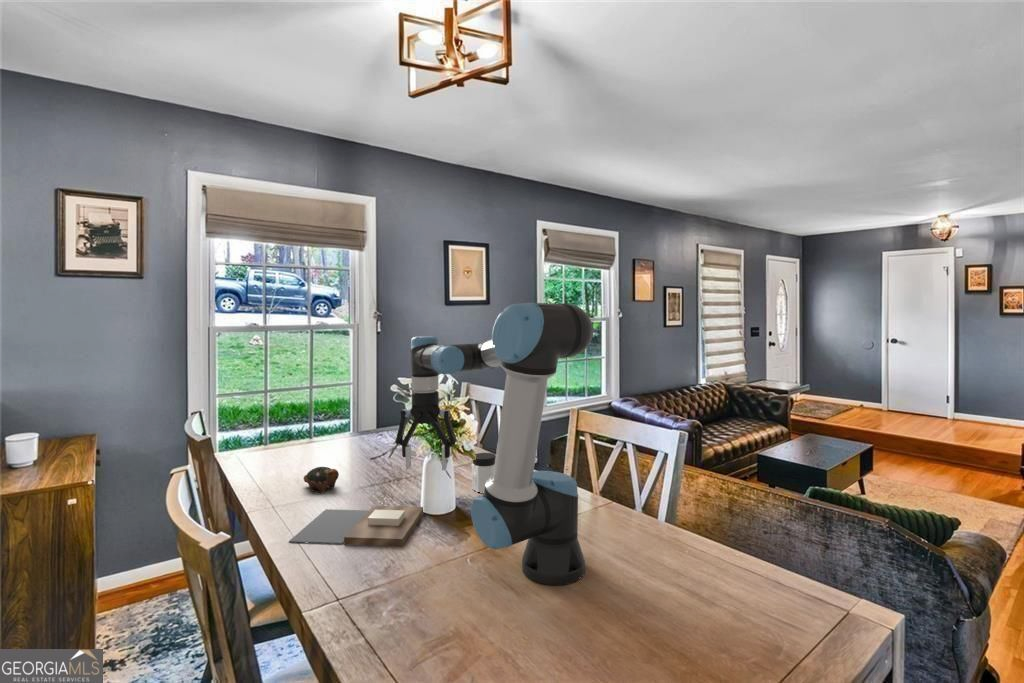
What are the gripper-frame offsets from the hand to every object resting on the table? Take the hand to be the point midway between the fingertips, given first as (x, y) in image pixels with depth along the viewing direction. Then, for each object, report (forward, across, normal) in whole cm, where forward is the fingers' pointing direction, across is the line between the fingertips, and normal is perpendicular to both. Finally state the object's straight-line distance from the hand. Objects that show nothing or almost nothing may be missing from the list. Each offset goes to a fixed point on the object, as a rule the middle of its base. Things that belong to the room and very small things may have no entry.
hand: (426, 468), depth 141 cm
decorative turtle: (+18, +46, -30) cm, 58 cm away
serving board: (+18, +12, 0) cm, 21 cm away
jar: (+18, -12, -33) cm, 39 cm away
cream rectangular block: (+16, +12, 0) cm, 20 cm away
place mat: (+18, +28, 0) cm, 33 cm away
